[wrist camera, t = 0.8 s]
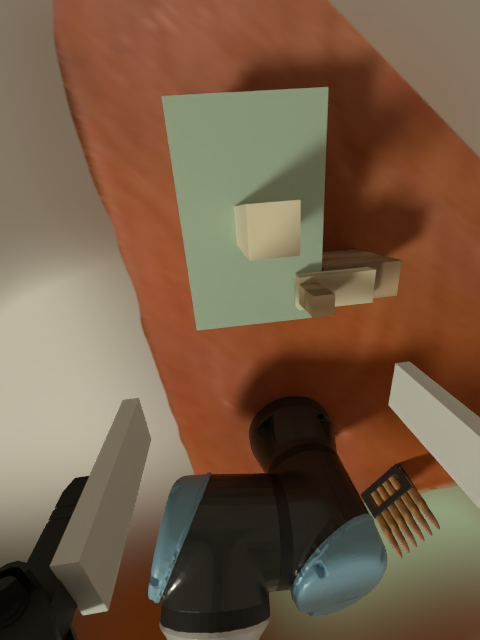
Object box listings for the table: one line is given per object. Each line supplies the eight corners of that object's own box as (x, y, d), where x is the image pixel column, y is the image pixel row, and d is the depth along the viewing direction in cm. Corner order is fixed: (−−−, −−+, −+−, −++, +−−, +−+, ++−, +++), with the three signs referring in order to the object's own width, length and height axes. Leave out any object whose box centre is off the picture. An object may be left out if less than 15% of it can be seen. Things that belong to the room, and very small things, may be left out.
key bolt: (364, 297, 30) (396, 315, 25) (294, 305, 30) (312, 325, 25) (367, 266, 29) (401, 278, 24) (294, 274, 29) (313, 288, 23)
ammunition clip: (366, 497, 60) (401, 562, 49) (360, 494, 60) (394, 559, 48) (401, 466, 58) (447, 527, 46) (395, 463, 57) (440, 524, 46)
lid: (313, 310, 33) (360, 355, 23) (197, 322, 32) (192, 376, 22) (318, 96, 25) (395, 16, 15) (165, 105, 24) (132, 26, 14)
